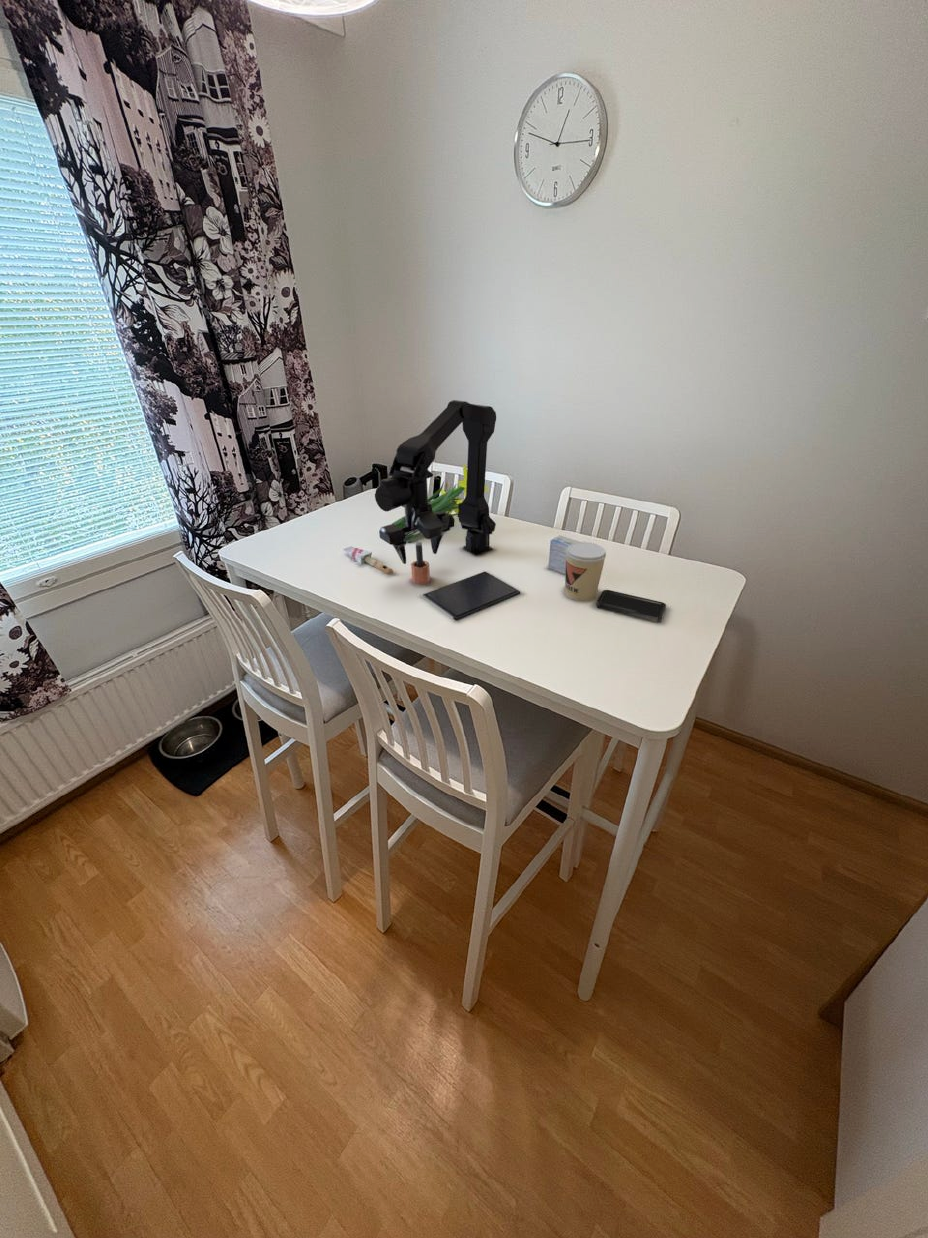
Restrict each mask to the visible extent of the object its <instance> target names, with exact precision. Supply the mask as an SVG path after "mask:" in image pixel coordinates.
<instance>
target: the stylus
mask: <svg viewBox="0 0 928 1238" xmlns="http://www.w3.org/2000/svg"><path fill="white" fill-rule="evenodd" d="M415 555H416V556H415V557H416V561H417V567H423V561H424V553H423V542H422V541H415Z"/></svg>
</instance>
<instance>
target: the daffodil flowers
mask: <svg viewBox="0 0 928 1238" xmlns="http://www.w3.org/2000/svg"><path fill="white" fill-rule="evenodd" d="M462 467H463V468H462V472H463V479H462V480H460V481H458V482H457V484H455V485H454V486H453V487H452V485H450V486H449V489H448V492H446V491H445V490H443V488H444V485H445V483H444V482H445V480H443V482H442V484H441V486H440V487H439V489H438V490H437V491H435V492H434V493H433V494H432V495H431V496H430V497H428V503H430V504H431V506H432V511H433V513H434V512H438V511H444V512H446V513H448V514H450V515H452V516H453V517H455V516H458V505H459V503H462V502H463V500H464V499H461V498H459V496H460V495H461V494H463V495H464V498H465V497H466V486H467V466H466V463H465V462H464V461H463V462H462ZM456 486H458V487H457V488H456ZM463 491H464V492H463ZM488 491H490V488H488V487H487V486H485V489H484V492H488ZM439 494H440V495H439ZM438 495H439V496H438ZM437 496H438V497H437ZM453 512H454V513H453ZM403 518H405V515H404V516H402V517H400V518H399V519H397V520H395V521H394V522H392V523H391V524H395V525H396V526H398V527H403V526H406V524H405V523H404V522H403ZM414 534H415V535H414ZM412 535H413V536H412ZM420 535H422V534H421V532H420V531H415V532H412V533H408V534H405V540H406V539H407V538H409V537H411V538H409V539H408V540H407V541H406V542H407V543H409V542H411V541H413V540H414V539H415V538H416V537H419V536H420Z"/></svg>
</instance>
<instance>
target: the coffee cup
mask: <svg viewBox="0 0 928 1238" xmlns="http://www.w3.org/2000/svg"><path fill="white" fill-rule="evenodd" d="M606 557H607V552H606V549H605V548H604V547H603V546H601V545H600V544H597V543H595V542H589V541H580V542H577V543H573V544H571V545H569V546H568V548H567V550H566V572H565V574H564V575H565V576H564V593H565V595H566V596H567V597H568V598H569V599H571V600H574V601H578V602H586V601H587V602H588V601H592V600H593V599H595V598H596V596H597V593H598V589H599V586H600V582H601V576H602V572H603V568H604V564H605V559H606Z"/></svg>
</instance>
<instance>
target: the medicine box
mask: <svg viewBox="0 0 928 1238" xmlns="http://www.w3.org/2000/svg"><path fill="white" fill-rule="evenodd" d="M577 542H581V541H579V540H577V539H573V538H570V537H567V536H564V535H561V534H560V535H558V536H555V537H554V538H552V539H550V543H549V552H548V553H549V554H548V565H547V569H549V570H552V571H555V572H557V573H560V574H562V575H565V572H566V550H567V548H568V546H569V545H571V544H573V543H577Z"/></svg>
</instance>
